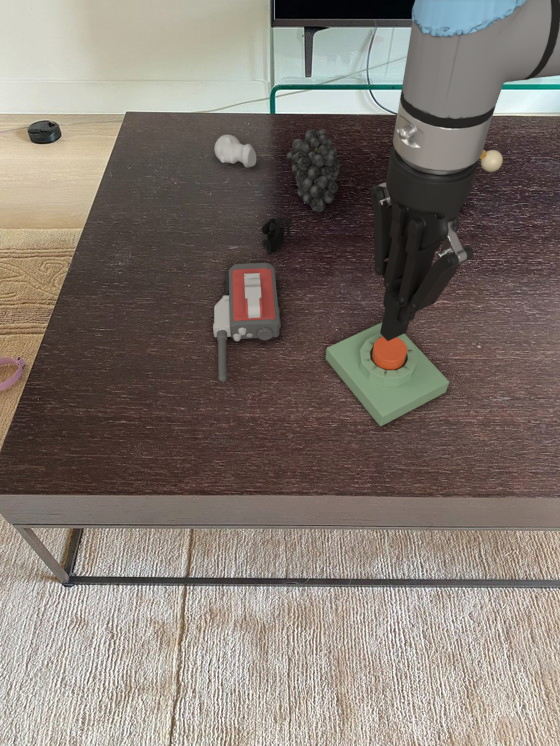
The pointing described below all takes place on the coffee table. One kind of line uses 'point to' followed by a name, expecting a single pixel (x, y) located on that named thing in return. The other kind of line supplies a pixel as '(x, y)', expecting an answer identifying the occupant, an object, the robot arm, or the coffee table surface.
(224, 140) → the smooth white sculpture
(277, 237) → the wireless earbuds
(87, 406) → the coffee table surface
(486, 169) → the switch lever
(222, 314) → the walkie-talkie
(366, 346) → the switch box
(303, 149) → the fruit
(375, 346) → the switch button
